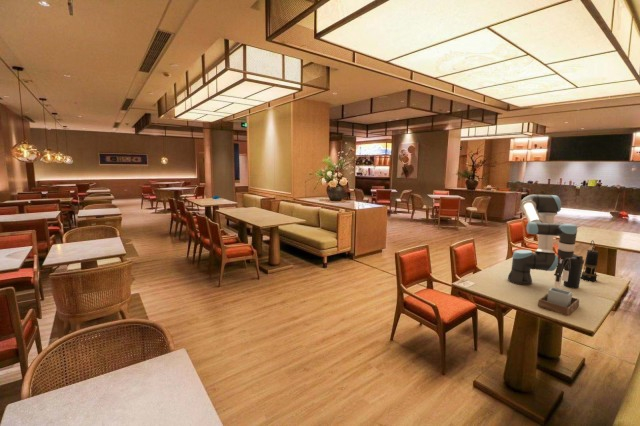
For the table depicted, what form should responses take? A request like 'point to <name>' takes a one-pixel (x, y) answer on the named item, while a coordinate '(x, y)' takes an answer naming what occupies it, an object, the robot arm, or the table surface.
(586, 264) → the lantern
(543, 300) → the walnut crate
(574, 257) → the water bottle
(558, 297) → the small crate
